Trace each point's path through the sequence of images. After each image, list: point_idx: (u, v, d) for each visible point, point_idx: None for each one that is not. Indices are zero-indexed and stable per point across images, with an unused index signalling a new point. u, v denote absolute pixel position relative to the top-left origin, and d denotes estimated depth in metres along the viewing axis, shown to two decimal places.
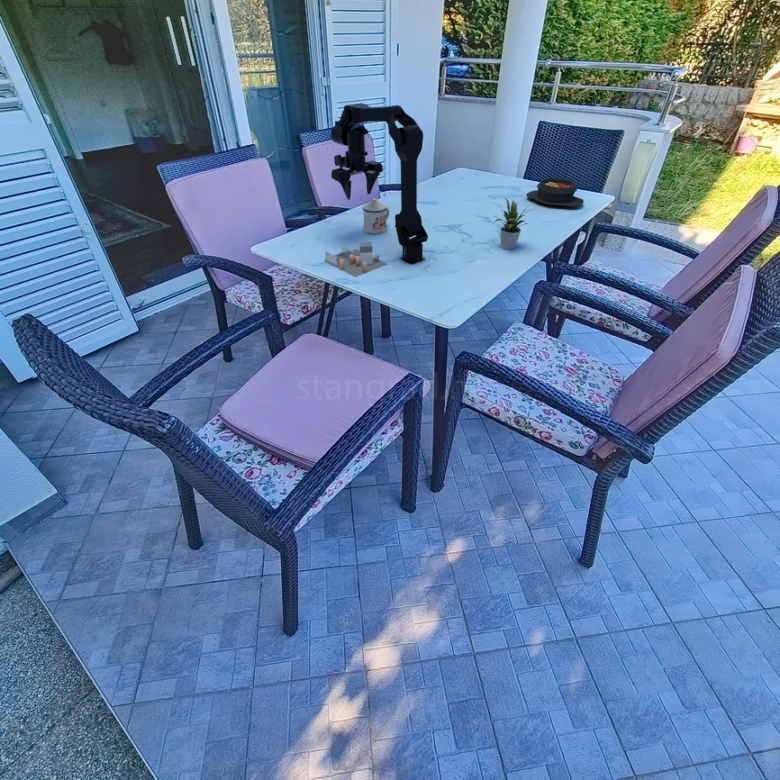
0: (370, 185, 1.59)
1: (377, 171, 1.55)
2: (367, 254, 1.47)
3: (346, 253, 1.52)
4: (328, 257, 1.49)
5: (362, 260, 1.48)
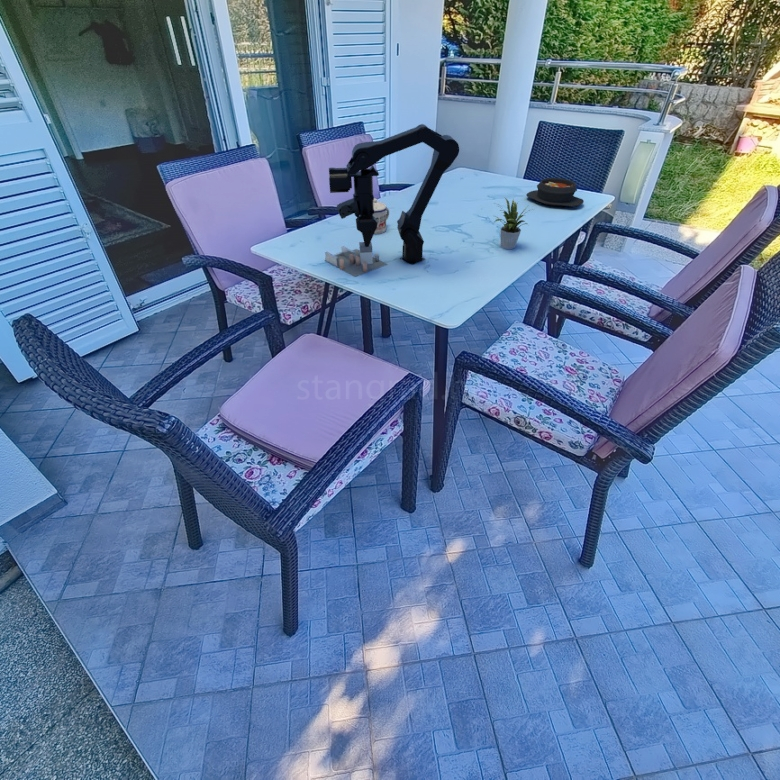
0: None
1: None
2: (367, 254, 1.47)
3: (346, 253, 1.52)
4: (328, 257, 1.49)
5: (362, 260, 1.48)
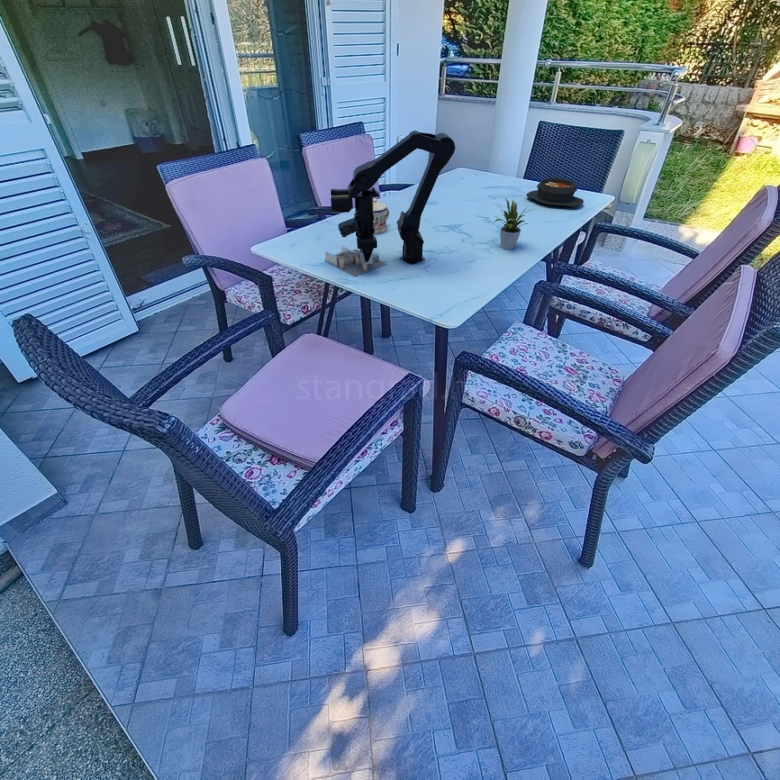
0: None
1: None
2: None
3: (346, 253, 1.52)
4: (328, 257, 1.49)
5: (362, 260, 1.48)
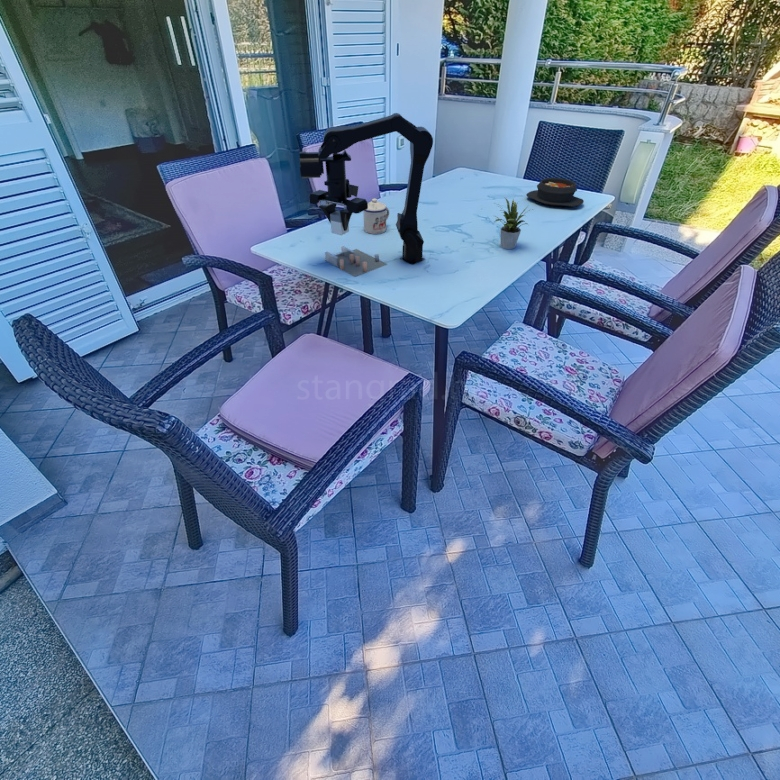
0: None
1: (349, 210, 1.33)
2: None
3: (346, 253, 1.52)
4: (328, 257, 1.49)
5: None
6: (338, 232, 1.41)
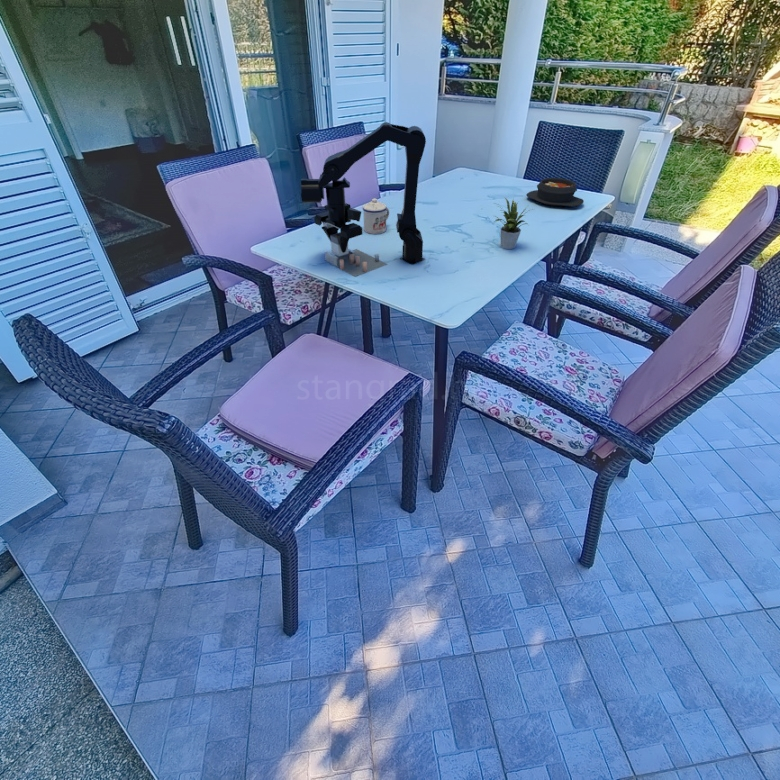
0: None
1: (342, 234, 1.39)
2: None
3: None
4: (328, 257, 1.49)
5: None
6: (336, 253, 1.48)
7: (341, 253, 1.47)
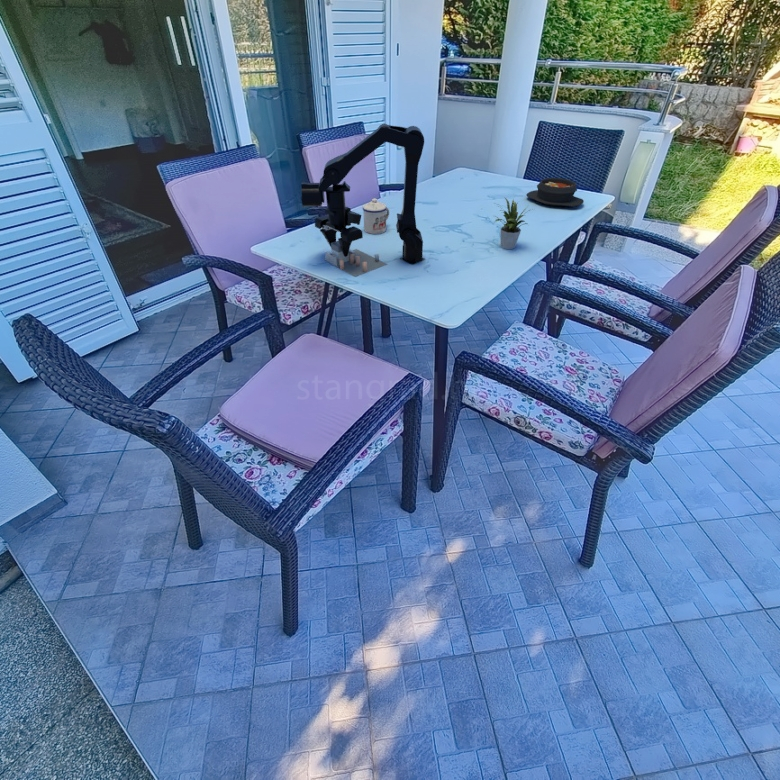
0: None
1: (342, 238, 1.39)
2: None
3: None
4: (328, 257, 1.49)
5: None
6: None
7: None
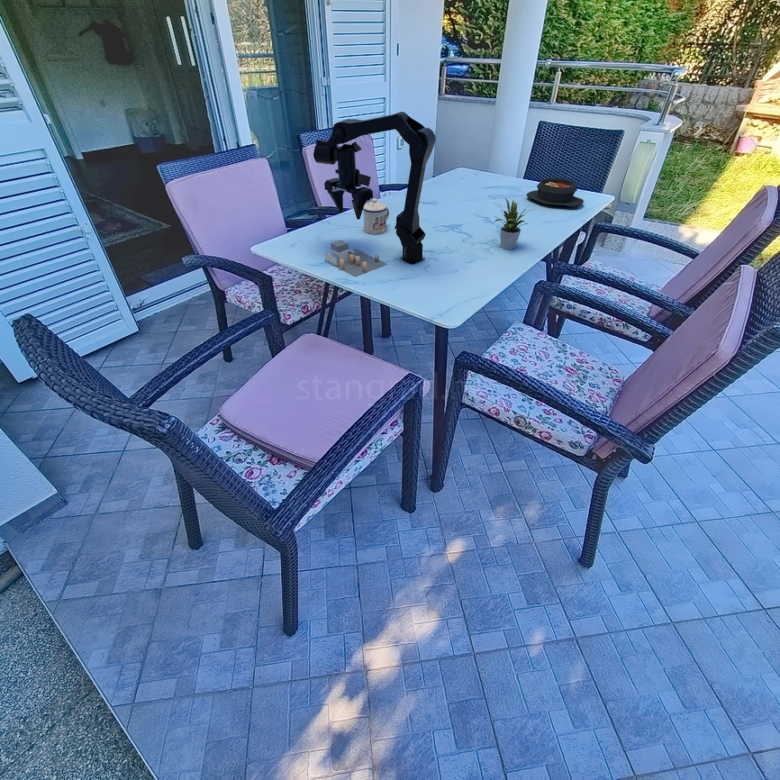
0: None
1: (353, 198, 1.41)
2: None
3: None
4: (328, 257, 1.49)
5: None
6: None
7: None
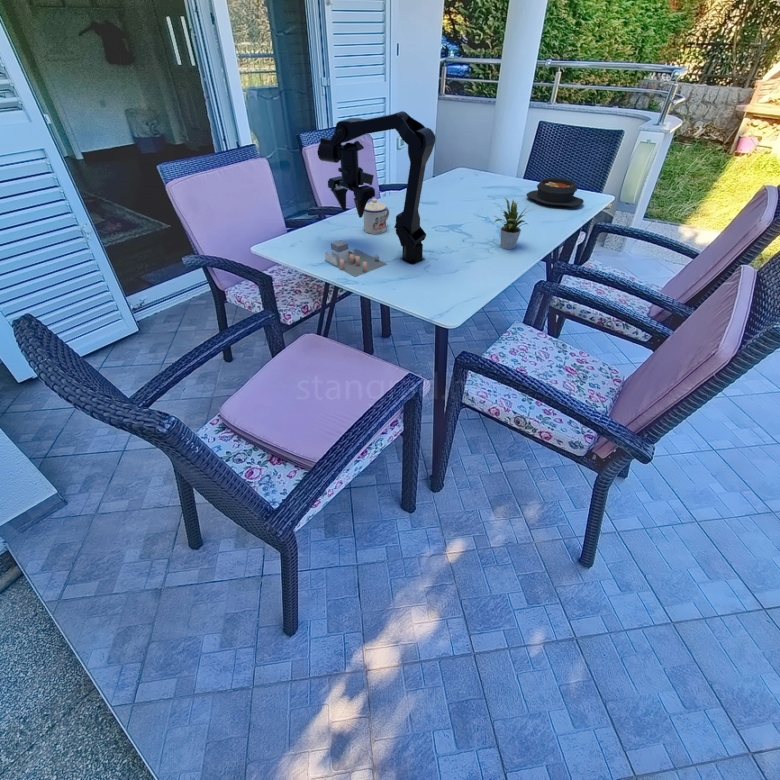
0: None
1: (355, 196, 1.43)
2: None
3: None
4: (328, 257, 1.49)
5: None
6: None
7: None
